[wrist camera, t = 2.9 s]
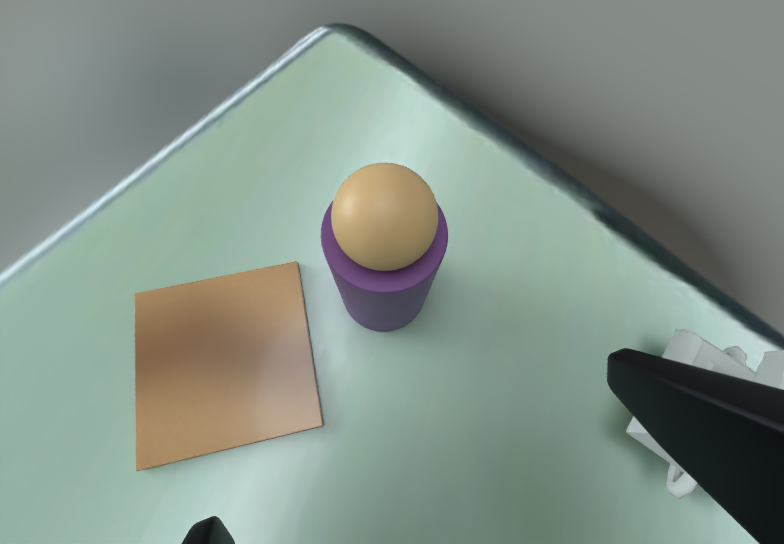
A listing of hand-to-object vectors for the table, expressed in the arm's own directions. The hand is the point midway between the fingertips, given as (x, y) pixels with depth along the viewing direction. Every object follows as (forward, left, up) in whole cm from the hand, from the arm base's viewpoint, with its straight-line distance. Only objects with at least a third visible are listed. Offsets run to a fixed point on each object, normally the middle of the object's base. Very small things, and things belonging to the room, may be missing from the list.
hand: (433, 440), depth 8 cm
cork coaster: (+5, +9, -14) cm, 18 cm away
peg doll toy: (+7, -1, -14) cm, 16 cm away
